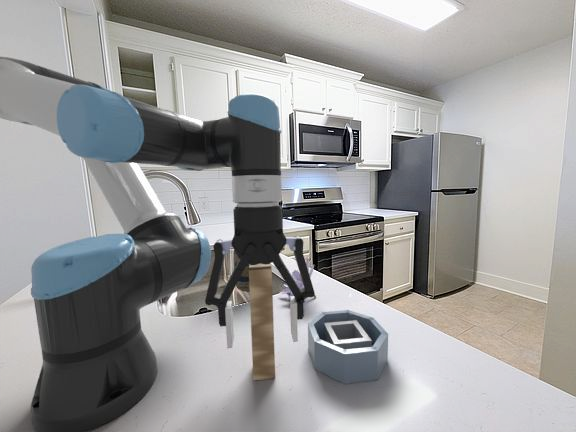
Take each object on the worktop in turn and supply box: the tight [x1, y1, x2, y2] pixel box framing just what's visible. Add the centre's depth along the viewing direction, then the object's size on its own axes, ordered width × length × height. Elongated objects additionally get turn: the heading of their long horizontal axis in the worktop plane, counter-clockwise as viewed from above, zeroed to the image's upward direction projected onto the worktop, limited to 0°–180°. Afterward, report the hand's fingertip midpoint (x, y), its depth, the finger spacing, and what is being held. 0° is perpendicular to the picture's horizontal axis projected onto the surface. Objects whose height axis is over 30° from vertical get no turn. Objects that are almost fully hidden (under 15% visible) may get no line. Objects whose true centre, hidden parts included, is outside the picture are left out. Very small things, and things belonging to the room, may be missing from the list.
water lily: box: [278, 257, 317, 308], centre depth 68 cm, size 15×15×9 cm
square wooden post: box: [249, 263, 276, 381], centre depth 40 cm, size 4×4×18 cm
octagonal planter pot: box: [307, 309, 389, 385], centre depth 44 cm, size 13×13×5 cm
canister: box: [233, 248, 250, 293], centre depth 75 cm, size 10×10×18 cm
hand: (262, 339), depth 40 cm, fingers open, 10 cm apart
